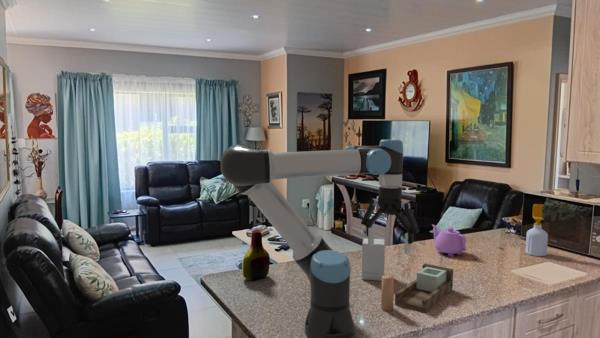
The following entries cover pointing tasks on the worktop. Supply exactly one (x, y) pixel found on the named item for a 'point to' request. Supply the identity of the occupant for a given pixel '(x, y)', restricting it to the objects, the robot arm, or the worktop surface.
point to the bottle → (256, 258)
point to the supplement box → (373, 260)
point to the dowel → (387, 293)
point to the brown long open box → (424, 293)
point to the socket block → (430, 279)
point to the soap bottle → (537, 235)
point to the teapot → (449, 241)
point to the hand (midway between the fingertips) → (388, 249)
